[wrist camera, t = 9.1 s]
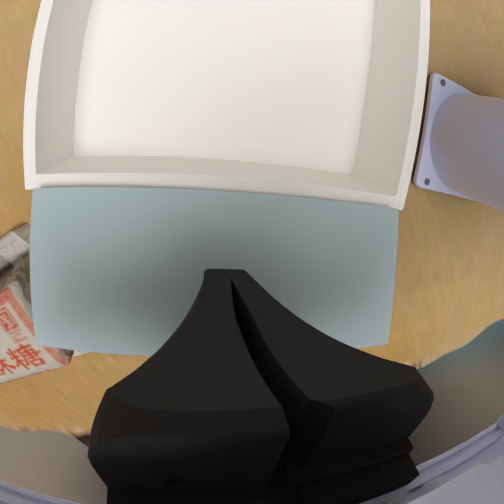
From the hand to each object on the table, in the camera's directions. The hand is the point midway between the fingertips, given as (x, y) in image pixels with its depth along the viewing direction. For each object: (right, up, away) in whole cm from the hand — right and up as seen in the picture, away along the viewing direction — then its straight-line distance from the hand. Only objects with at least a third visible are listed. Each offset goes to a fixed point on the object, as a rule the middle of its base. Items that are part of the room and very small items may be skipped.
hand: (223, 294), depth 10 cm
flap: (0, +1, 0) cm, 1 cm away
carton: (0, +15, +1) cm, 15 cm away
